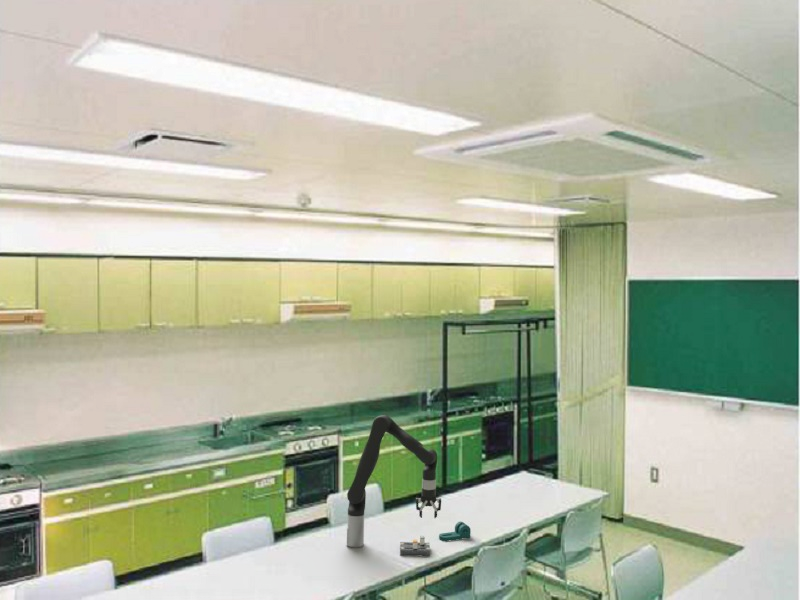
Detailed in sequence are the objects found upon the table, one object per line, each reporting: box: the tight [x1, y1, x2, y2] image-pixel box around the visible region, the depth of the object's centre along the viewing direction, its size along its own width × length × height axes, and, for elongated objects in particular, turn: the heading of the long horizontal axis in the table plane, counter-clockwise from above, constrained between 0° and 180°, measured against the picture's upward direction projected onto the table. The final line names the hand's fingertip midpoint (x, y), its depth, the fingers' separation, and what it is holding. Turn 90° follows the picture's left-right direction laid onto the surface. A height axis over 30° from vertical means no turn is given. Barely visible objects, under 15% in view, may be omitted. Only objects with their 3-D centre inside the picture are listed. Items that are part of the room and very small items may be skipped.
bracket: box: [438, 521, 472, 542], centre depth 398 cm, size 18×7×8 cm, turn 112°
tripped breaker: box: [412, 539, 419, 549], centre depth 373 cm, size 2×3×4 cm
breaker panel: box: [399, 541, 431, 557], centre depth 376 cm, size 16×11×3 cm
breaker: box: [419, 535, 426, 545], centre depth 379 cm, size 2×3×4 cm
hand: (428, 517), depth 373 cm, fingers open, 7 cm apart
